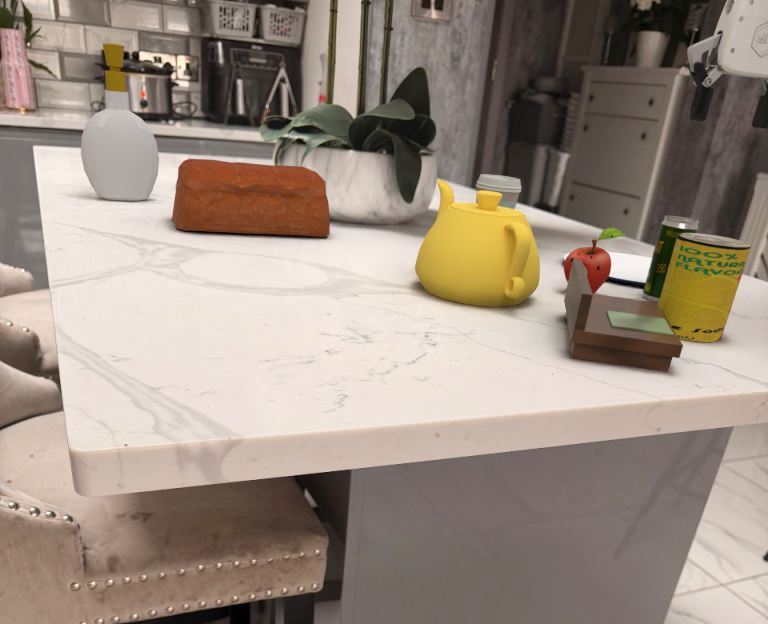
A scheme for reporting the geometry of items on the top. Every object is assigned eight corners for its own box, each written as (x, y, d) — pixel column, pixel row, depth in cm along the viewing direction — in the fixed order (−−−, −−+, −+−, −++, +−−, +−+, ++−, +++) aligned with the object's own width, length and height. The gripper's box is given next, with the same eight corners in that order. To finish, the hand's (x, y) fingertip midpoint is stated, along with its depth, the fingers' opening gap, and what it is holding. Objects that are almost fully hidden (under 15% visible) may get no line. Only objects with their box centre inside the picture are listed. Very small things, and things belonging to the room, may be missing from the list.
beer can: (673, 298, 121) (696, 218, 115) (679, 306, 116) (704, 223, 110) (639, 293, 121) (660, 213, 116) (644, 301, 117) (666, 219, 111)
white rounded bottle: (154, 196, 156) (147, 47, 143) (165, 203, 149) (159, 48, 136) (80, 193, 149) (66, 38, 136) (88, 201, 143) (74, 39, 130)
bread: (170, 216, 138) (167, 152, 133) (313, 223, 147) (316, 163, 141) (178, 234, 125) (176, 163, 120) (334, 240, 134) (339, 175, 129)
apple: (575, 300, 112) (591, 230, 108) (550, 288, 118) (564, 220, 113) (617, 300, 115) (634, 231, 110) (590, 289, 121) (606, 222, 116)
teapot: (379, 269, 117) (388, 173, 110) (476, 270, 125) (491, 179, 118) (461, 316, 98) (478, 203, 91) (570, 313, 105) (594, 208, 99)
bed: (649, 328, 103) (665, 271, 99) (674, 375, 86) (694, 309, 82) (560, 315, 104) (573, 259, 100) (566, 359, 87) (582, 293, 83)
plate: (544, 269, 130) (545, 262, 129) (581, 251, 150) (583, 244, 149) (694, 300, 121) (696, 292, 120) (713, 276, 141) (715, 269, 140)
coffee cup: (510, 252, 142) (523, 182, 136) (465, 245, 143) (475, 176, 137) (512, 244, 149) (523, 178, 143) (468, 238, 150) (478, 172, 144)
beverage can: (727, 346, 99) (759, 250, 93) (657, 335, 100) (684, 240, 94) (713, 327, 107) (741, 238, 101) (648, 318, 108) (672, 229, 102)
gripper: (727, -38, 93) (685, 119, 101) (850, -18, 96) (799, 133, 105) (696, -32, 99) (659, 115, 108) (812, -13, 102) (767, 128, 111)
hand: (728, 124), depth 106 cm, fingers open, 9 cm apart
